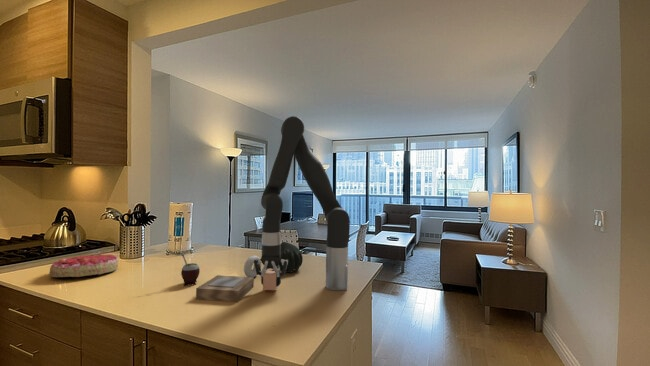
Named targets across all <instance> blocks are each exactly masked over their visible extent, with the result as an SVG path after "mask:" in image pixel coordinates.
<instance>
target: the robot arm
mask: <svg viewBox="0 0 650 366" xmlns="http://www.w3.org/2000/svg"><path fill="white" fill-rule="evenodd" d="M281 125H282V126H281V127H280V128H281V129H280V133H281V134H280V135H281V139H280V140H281V141H280V145H279V148H278V152H277V154H276V158H275V160H274V162H273V165H272V168H271V172H270V174H269V175H270V176H269V180H268V182H267V185H266V186H265V188H264V191H263V193H262V195H261V198H260V203H261V207H262V208H263V210H265V214H264V216H265V217H264V218H263V220H262V235H261V257H260V259H256V260H254V263H253V265H254V264H255V269H256V273H257V276H258V275H259V276H260V277H261V278H260V279H261V280H260V281H261V285H263V274H264V273H265V272H266V271H268V270H270V269H272V270H273V271H275V272H276V275H277V277H276V286H278V287H280V285H281V284H282V277H283V276H285V275H286V273H287V272H286V269H287V265H288V260H283V259H282V258H281V243H282V242H281V241H282V238H281V237H282V236H281V218H282V216H283V215H282V213H283V209H284V208H283V207H284V204H283V203H284V201H283V198H282V196H281V195H280V194H281V192H282V191H283V189H284V188H285V187H286V184H287V181H288V178H289V174H290V171H291V166H292V162H293V158H295V160H296V163H297V165H298V167H299V169H300V172H301V174H302V177H304V180H305V182H306V184H307V185H308V187H309V189H310V190H311V192H312V194H313V195H314V197H315V198H316V200H317V201H318V204H320V208H321V209H322V212H323V214H324V218H325V220H326V223H327V224H326V226H327V230H326V231H327V232H326V241H325V242H326V248H325V249H326V250H325V255H326V256H325V288H326V289H327V290H331V291H346V290H348V286H349V280H348V279H349V242H350V227H351V224H350V223H351V220H350V215H349V213H348V212H347V211H346V210H345V209H344V208H343V207H342V206H341V204H340V203H339V200H338V199H337V197H336V196H335V193H334V190H333V188H332V183H331V181H330V178H329V176H328V174H327V171H326V169H325V167H324V166H323V164H322V162H321V161H320V160H319V158H318V157H317V156H316V155H315V154H314V152H313V151H312V150H311V149H310V147H309V145H308V143H307V141H306V137H304V132H305V125H304V122H303V120H302V119H301V118H300V117H298V116H294V115H292V116H289V117H287V118H285V120H284V121H283V122H282V124H281ZM280 262H282V265H283V268H282V271H280V267H279V264H280ZM260 263H261V264H262V265H263V267H261V268H262V269H261V268H260Z"/></svg>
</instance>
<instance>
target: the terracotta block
mask: <svg viewBox="0 0 650 366" xmlns="http://www.w3.org/2000/svg"><path fill="white" fill-rule="evenodd" d="M276 277H277V275H276V272H275V271H274V270H267V271H266V272H265V273H264V274H263V284H262V290H264V291H265V290H266V291H277V289H278V287H279V286H276Z"/></svg>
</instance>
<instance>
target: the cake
mask: <svg viewBox="0 0 650 366" xmlns="http://www.w3.org/2000/svg"><path fill="white" fill-rule="evenodd" d="M118 267H119V258H118V257H117V256H115V255H114V254H97V255H96V254H92V255H80V256H73V257H67V258H66V257H65V258H62V259H59V260H58V261H55V262H53V263H51V266H50V267H49V274H48V276H49V277H51V278H53V279H59V278H71V277H72V278H80V277H91V276H96V277H97V276H100V275H105V274H110V273H114V272H115V271H117V270H118V269H119V268H118Z"/></svg>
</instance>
